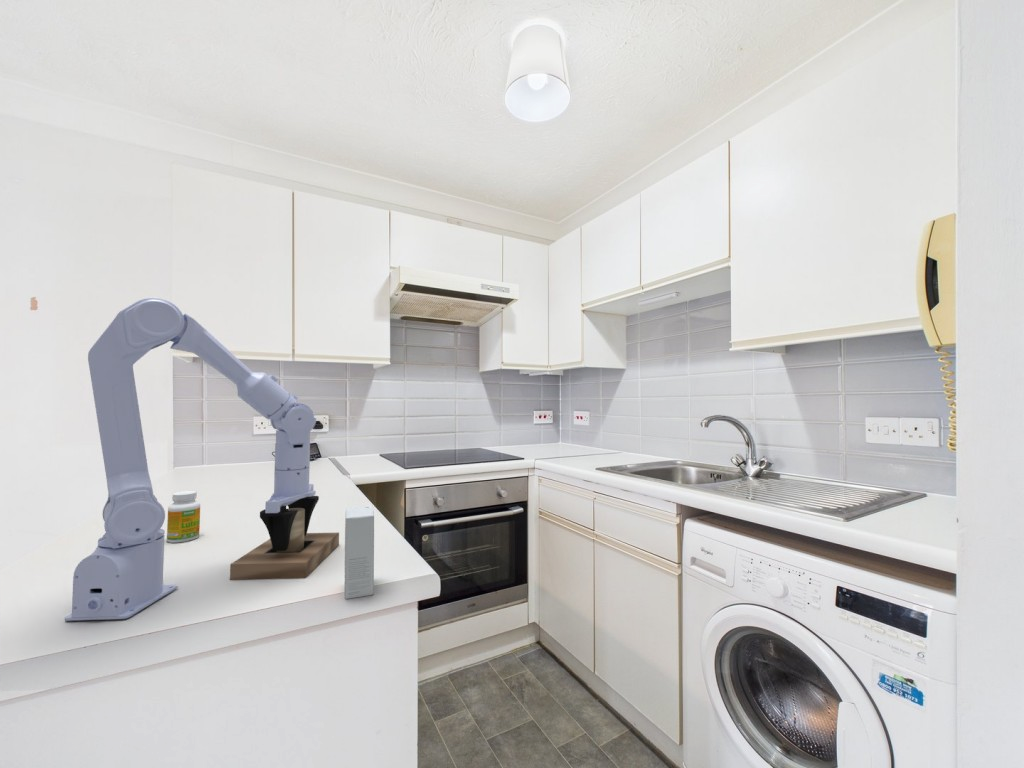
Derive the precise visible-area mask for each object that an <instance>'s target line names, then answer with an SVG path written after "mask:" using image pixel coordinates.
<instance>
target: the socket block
mask: <svg viewBox="0 0 1024 768" xmlns="http://www.w3.org/2000/svg"><path fill="white" fill-rule="evenodd" d="M339 545H340V532H307V534H306V536H304V549H303V550H302V551H301V552H280V553H277V551H274V550H273V547H272V543H271V539H270V538H269V539H267V540H266V541H264V542H263V543H261V544H260V545H258V546H256V547H255V548H253V549H252V550H249V552H247V553H246V554H243V556H241V557H239V558H237V559H236V560H234V561H233V562H231V563H230V567H229V580H233V581H236V580H237V581H239V580H240V581H241V580H267V579H268V580H271V579H273V580H275V579H306V578H308V576H309V575H310V574H311V573H312V572H313V571H314V570H315V569H317V567H319V565H320V564H322V562H323V561H324V560H326V558H328V557H329V555H330V554H332V552H333V551H335V550H336V549H337V547H339Z"/></svg>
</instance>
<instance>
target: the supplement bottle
mask: <svg viewBox="0 0 1024 768" xmlns="http://www.w3.org/2000/svg"><path fill="white" fill-rule="evenodd" d="M196 499H197V490H183V491H177V492H174V493H172V502H173V503H171V504H170V505H169V506H168V508H167V524H166V525H167V530H166V542H168V543H171V544H176V543H186V542H190V541H193V540H195V539H197V538H199V536H200V528H201V527H200V523H201V520H200V519H201V502H199V500H196Z"/></svg>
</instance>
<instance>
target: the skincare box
mask: <svg viewBox="0 0 1024 768" xmlns="http://www.w3.org/2000/svg"><path fill="white" fill-rule="evenodd" d="M374 511H375V510H374V507H373V506H371V505H370V506H359V507H348V508H346V509H345V520H344V522H345V523H344V524H345V525H344V526H345V527H344V599H345V600H350V599H355V598H360V597H368V596H372V595H374V594H375V592H374V590H375V578H374V577H375V514H374Z"/></svg>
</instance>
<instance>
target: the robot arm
mask: <svg viewBox="0 0 1024 768" xmlns="http://www.w3.org/2000/svg"><path fill="white" fill-rule="evenodd" d="M169 342H171V343H172V344H171V346H170V349H171V350H176V351H182V352H186V353H187V352H188V353H192V354H194V355H195V356H197V357H199V359H201V360H203V361H204V362H205V363H206V364H207V365H209V366H211V367H212V368H213V369H214V370H216V371H217V372H219V373H220V374H221V375H223V376H224V377H226V379H228V380H229V381H231V382H232V383H233V384H235V385H236V387H237V388H236V389H237V397H239V399H241V400H243V402H245V403H246V404H247V405H249V406H250V407H252V409H254V410H255V411H256V412H257V413H259V414H260V415H261V416H263V417H264V418H265V419H266V420H269V421H270V425H271V427H272V428H273V429H275V444H274V473H273V474H274V477H273V478H274V481H273V483H274V485H273V486H274V487H273V492H272V494H271V497H270V498H269V499H268V500H267V501H265V509H262V510H260V511H259V518H260V519H261V521H262V522H263V524H264V526H265V528H266V530H267V532H268V535H269V539H271V543H272V547H273V550H274V551H286V550H287V549H288V545H289V540H290V533H291V527H292V524H293V521H294V518H295V516H296V514H297V512H298V510H288V509H289V508H304V509H305V523H304V536H306V534H307V533H308V530H309V526H310V521H311V518H312V515H313V512H314V509H315V508H316V506H317V504H318V502H319V499H320V497H319V496H318V495H316V490H314V483H313V484H312V483H310V466H311V465H310V464H311V431H312V430H313V429H314V428H315V426H316V423H317V418H316V417H315V414H313V413H314V411H313V410H312V409H311V407H310V406H308V405H307V404H305V403H299V402H298V403H297V400H298V399H299V397H298V396H297V395H296V394H294V393H293V394H290V392H288V391H287V390H286V389H284V387H283V386H281V385H280V384H279V383H278V382H277V381H278V380H279V379H278V377H277V376H275V375H274V374H269V375H268V374H267V372H262V371H261V372H253V371H252V370H251V369H250V368H248V366H247V365H246V364H245V363H243V362H242V361H241V360H240V359H239V358H237V356H235V354H233V352H231V351H230V350H229V349H228V348H227V347H226V346H225V345H224V344H222V343H221V342H220V341H219V340H218V339H217V338H216V337H215V336H214V335H212V334H211V332H210V331H208V330H207V329H206V328H204V327H203V325H201V324H200V323H199V322H198V321H197V320H195V318H193V317H192V316H191V315H189V314H187V313H183V312H182V310H180V308H179V307H178V306H177V305H176V304H174V303H173V302H171V301H170V300H166V299H164V298H161V297H146V298H142V299H140V300H137V301H135V302H133V303H132V304H131V305H129V306H127V307H125V308H124V309H122V310H120V311H119V312H118V313H117V314H116V315H115V317H114V318H113V320H112V321H111V322H110V324H109V325H108V326H107V327H106V329H105V330H104V331H103V332H102V334H101V335H100V336H99V337H98V338H97V340H96V341H95V343H94V344H93V345H92V346H91V348H89V350H88V354H87V361H88V362H87V363H88V367H89V374H90V381H91V382H90V383H91V387H92V395H93V401H94V406H95V412H96V419H97V425H98V426H97V427H98V433H99V438H100V444H101V445H100V446H101V452H102V453H101V454H102V458H103V459H102V460H103V463H104V464H103V465H104V472H105V477H106V478H105V479H106V484H107V485H106V486H107V492H108V493H107V494H108V495H107V496H108V497H107V500H106V501H105V504H104V506H103V509H102V520H103V521H104V531H105V533H104V534H103V535H102V537H100V538H99V539H98V540H97V547H96V548H95V550H94V551H93V552H92V553H91V554H90V555H88V556H86V557H84V558H83V559H81V561H79V563H78V564H77V566H76V567H75V569H74V572H73V577H72V595H71V596H72V599H71V600H72V601H71V613H69V614H67V615H66V616H65V617H64V621H66V622H67V621H68V622H69V621H70V622H71V621H95V620H97V621H100V620H102V621H103V620H104V621H105V620H126V619H128V618H130V617H132V616H134V615H135V614H137V613H139V612H140V611H142V610H143V609H145V608H146V607H148V606H150V605H152V604H153V603H155V602H156V601H158V600H160V599H162V598H164V597H165V596H167V595H168V594H170V593H171V592H173V591H174V590H177V589H178V584H164V559H165V529H162V527H163V526H164V525H163V524H165V520H166V511H165V508H164V507H163V505H162V504H161V502H159V501H158V498H157V497H156V495H155V494H154V491H153V485H152V481H151V477H150V473H149V467H148V461H147V460H148V459H147V454H146V453H147V452H146V446H145V440H144V435H143V426H142V420H141V412H140V407H139V406H140V405H139V400H138V393H137V387H136V380H135V374H134V364H136V363H137V362H138V361H139V360H141V358H142V357H144V356H145V355H146V354H147V353H149V352H150V351H151V350H154V349H156V348H158V347H161V346H163V345H165V344H167V343H169ZM287 507H288V508H287Z"/></svg>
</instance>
